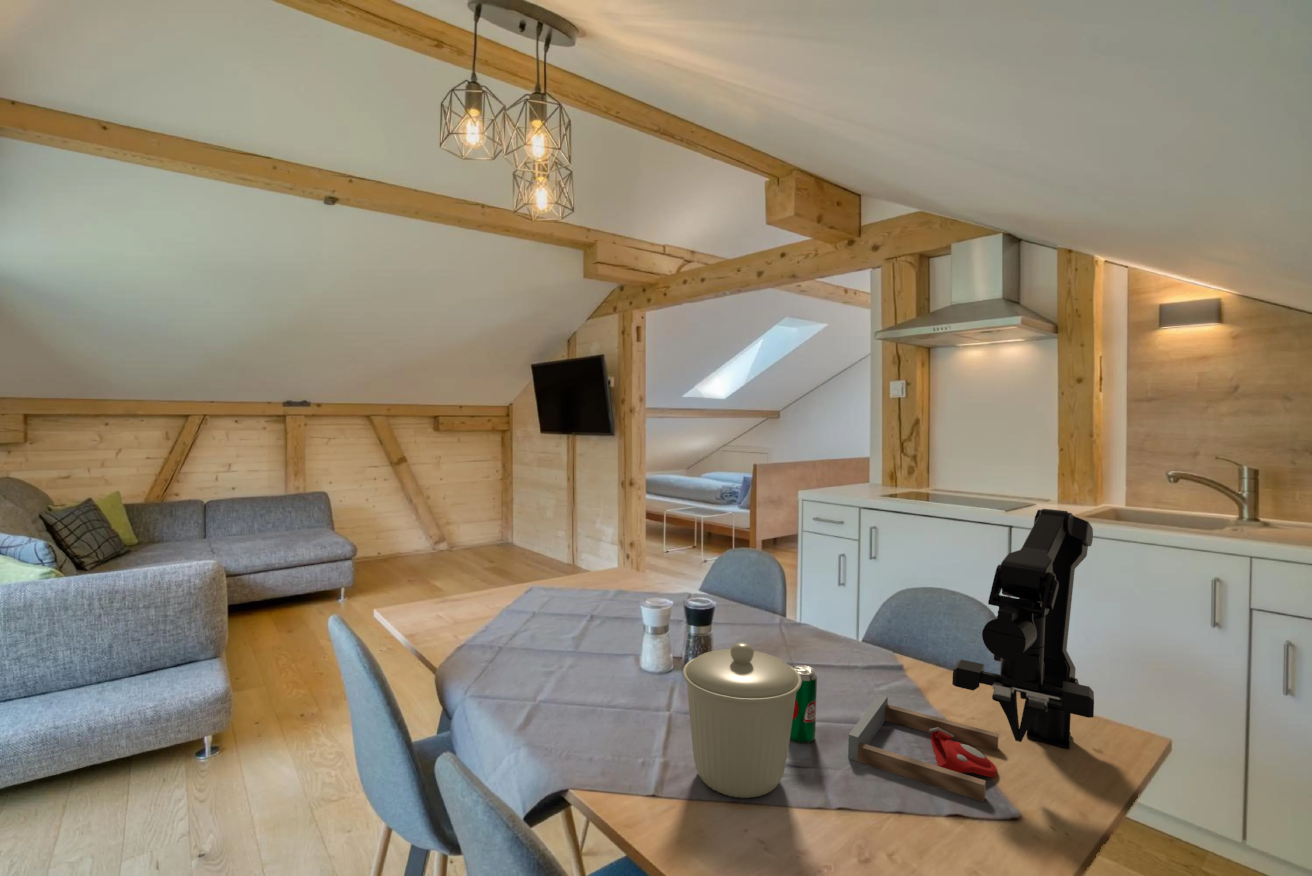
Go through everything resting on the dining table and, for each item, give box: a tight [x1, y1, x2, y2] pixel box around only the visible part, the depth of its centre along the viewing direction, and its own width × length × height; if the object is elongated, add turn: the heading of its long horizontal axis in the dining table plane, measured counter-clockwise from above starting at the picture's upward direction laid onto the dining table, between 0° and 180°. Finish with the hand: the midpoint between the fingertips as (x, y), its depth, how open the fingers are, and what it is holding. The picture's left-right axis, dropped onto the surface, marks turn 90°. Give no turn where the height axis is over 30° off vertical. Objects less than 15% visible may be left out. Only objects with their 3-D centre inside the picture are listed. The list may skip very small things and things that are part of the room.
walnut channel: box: [856, 704, 1000, 803], centre depth 106 cm, size 18×19×2 cm
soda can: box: [790, 664, 818, 744], centre depth 110 cm, size 5×5×12 cm
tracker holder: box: [929, 727, 998, 778], centre depth 103 cm, size 12×4×10 cm
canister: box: [682, 641, 802, 799], centre depth 97 cm, size 18×18×21 cm
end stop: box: [847, 694, 889, 762], centre depth 111 cm, size 2×19×4 cm, turn 146°
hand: (1018, 740), depth 98 cm, fingers closed
